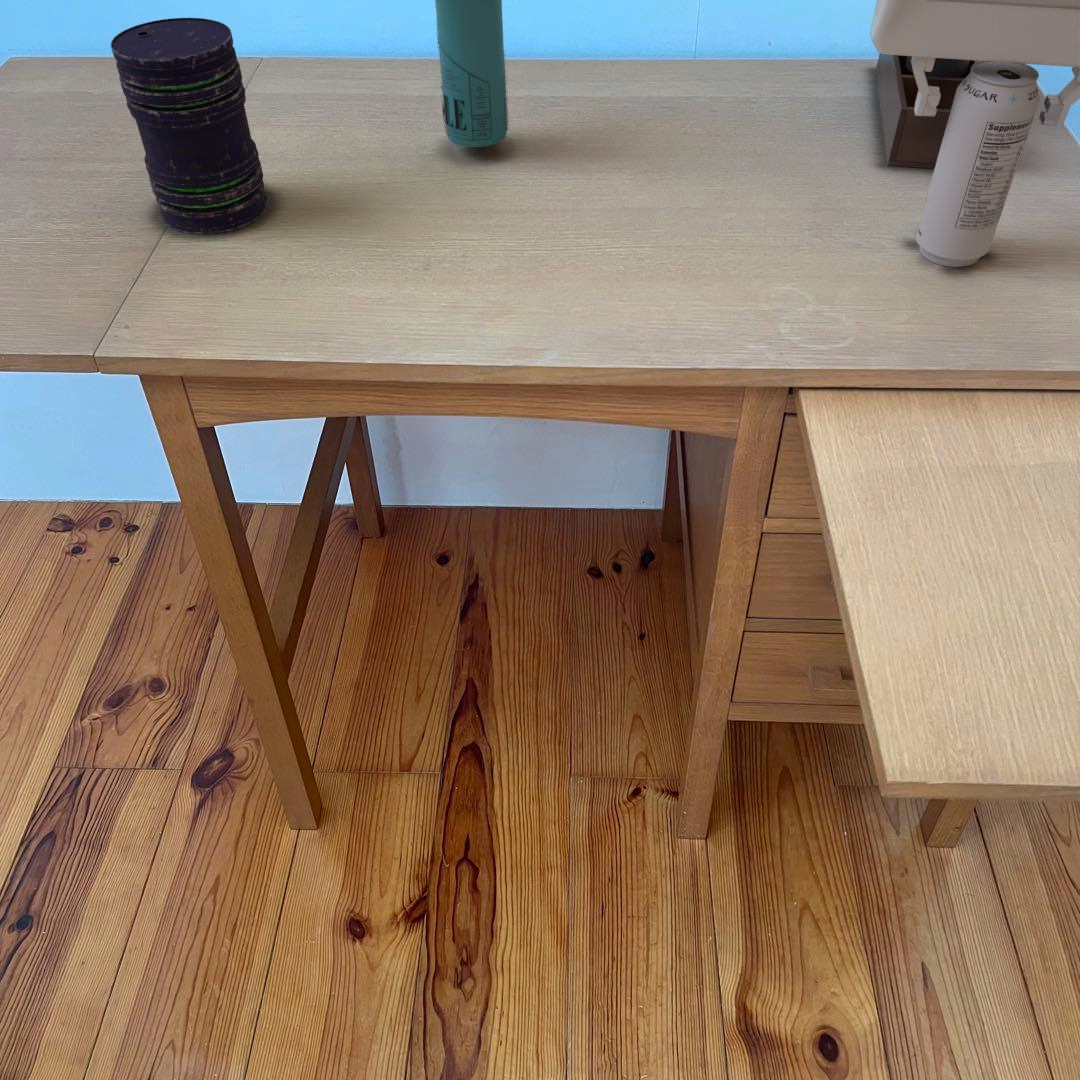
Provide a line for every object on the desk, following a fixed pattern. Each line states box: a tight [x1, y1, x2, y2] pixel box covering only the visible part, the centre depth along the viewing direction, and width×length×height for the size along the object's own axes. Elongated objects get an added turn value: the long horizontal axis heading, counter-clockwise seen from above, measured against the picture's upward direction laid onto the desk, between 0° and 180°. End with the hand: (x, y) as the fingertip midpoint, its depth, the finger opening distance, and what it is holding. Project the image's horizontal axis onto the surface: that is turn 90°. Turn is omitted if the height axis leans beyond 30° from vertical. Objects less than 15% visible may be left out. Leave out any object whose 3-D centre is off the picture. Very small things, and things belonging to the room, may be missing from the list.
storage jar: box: [110, 17, 269, 235], centre depth 88 cm, size 10×10×15 cm
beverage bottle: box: [434, 0, 510, 148], centre depth 94 cm, size 6×7×20 cm
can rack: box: [875, 53, 979, 170], centre depth 104 cm, size 9×25×6 cm, turn 169°
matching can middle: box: [903, 56, 970, 78], centre depth 100 cm, size 6×6×15 cm
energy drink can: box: [915, 61, 1040, 268], centre depth 81 cm, size 6×6×15 cm
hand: (986, 118), depth 78 cm, fingers open, 8 cm apart
